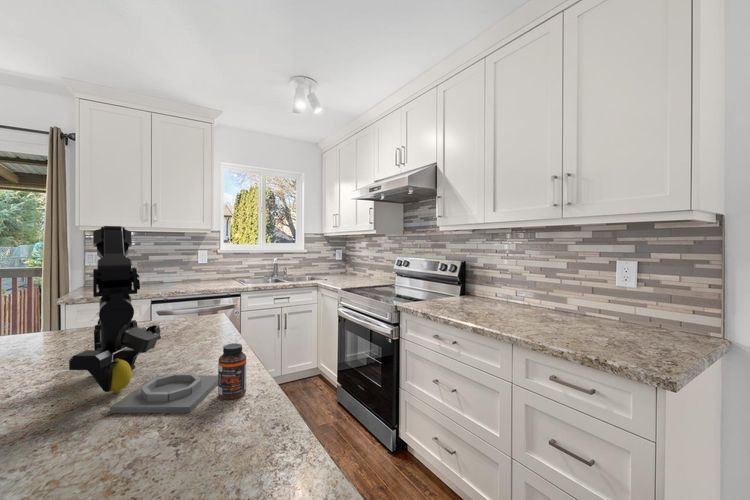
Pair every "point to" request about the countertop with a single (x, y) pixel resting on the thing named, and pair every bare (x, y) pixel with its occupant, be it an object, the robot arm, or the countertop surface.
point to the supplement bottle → (232, 372)
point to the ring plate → (168, 394)
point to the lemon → (120, 375)
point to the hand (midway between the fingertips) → (116, 385)
